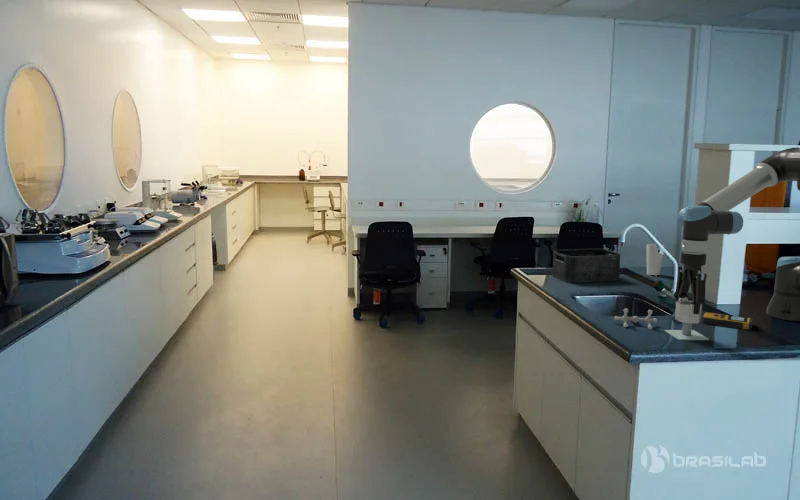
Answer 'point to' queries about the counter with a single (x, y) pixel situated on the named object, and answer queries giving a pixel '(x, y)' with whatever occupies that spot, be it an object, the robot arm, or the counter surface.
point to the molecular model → (636, 318)
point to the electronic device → (727, 321)
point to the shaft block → (686, 333)
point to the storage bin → (586, 265)
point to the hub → (684, 311)
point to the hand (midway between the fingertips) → (687, 319)
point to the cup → (653, 260)
